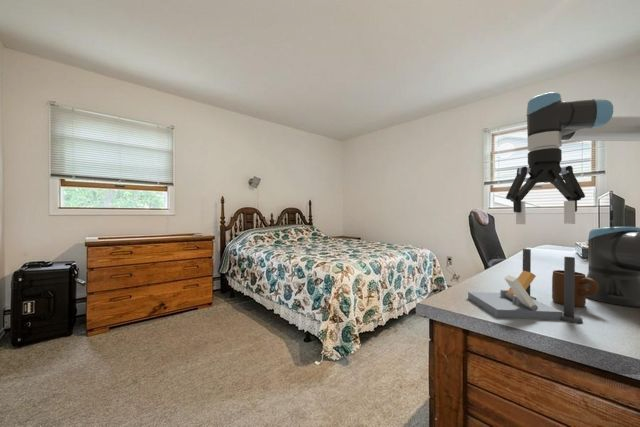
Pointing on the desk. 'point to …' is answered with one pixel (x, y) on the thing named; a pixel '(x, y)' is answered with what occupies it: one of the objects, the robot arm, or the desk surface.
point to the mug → (579, 288)
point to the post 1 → (527, 266)
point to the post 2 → (569, 291)
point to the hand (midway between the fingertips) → (545, 224)
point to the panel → (512, 306)
